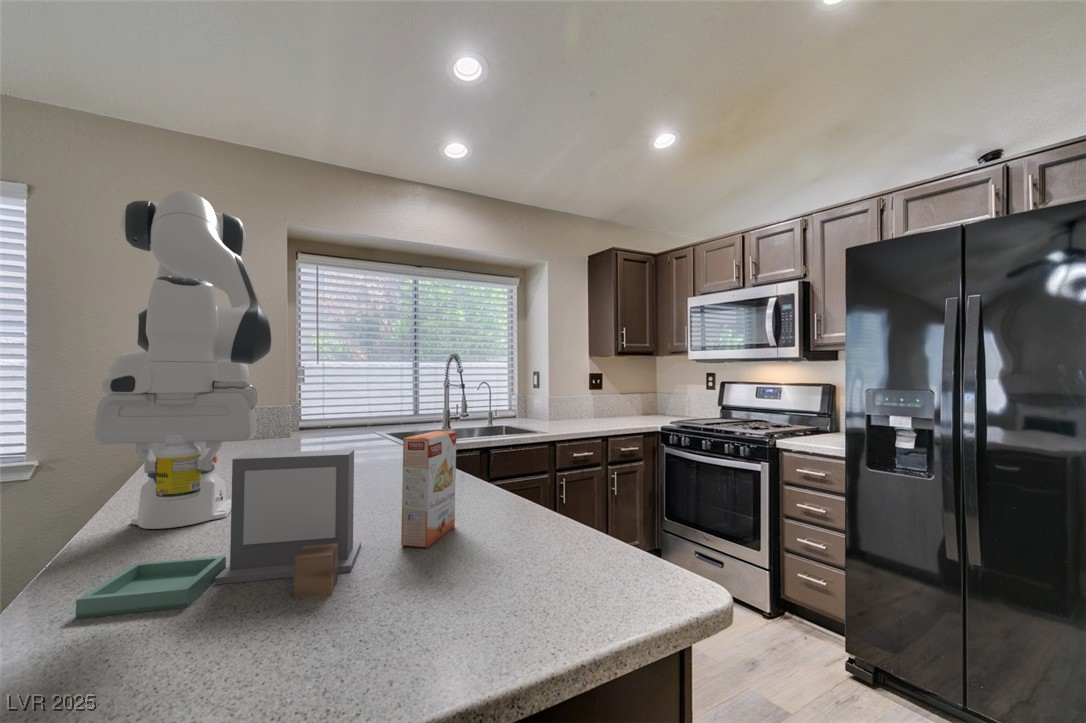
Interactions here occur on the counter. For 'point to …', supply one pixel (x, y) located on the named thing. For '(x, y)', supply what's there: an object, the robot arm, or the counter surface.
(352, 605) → the counter surface
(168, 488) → the supplement bottle
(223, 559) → the tray
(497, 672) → the counter surface
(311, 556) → the walnut block
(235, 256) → the robot arm
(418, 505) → the cracker box
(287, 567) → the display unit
